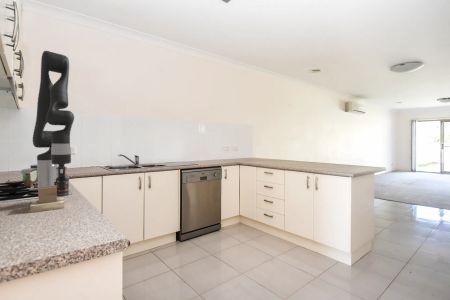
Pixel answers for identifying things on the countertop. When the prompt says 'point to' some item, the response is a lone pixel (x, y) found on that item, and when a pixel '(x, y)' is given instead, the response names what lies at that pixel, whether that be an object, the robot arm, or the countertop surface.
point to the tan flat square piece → (46, 205)
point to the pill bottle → (66, 191)
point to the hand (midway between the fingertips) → (61, 189)
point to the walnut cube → (47, 194)
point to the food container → (29, 176)
